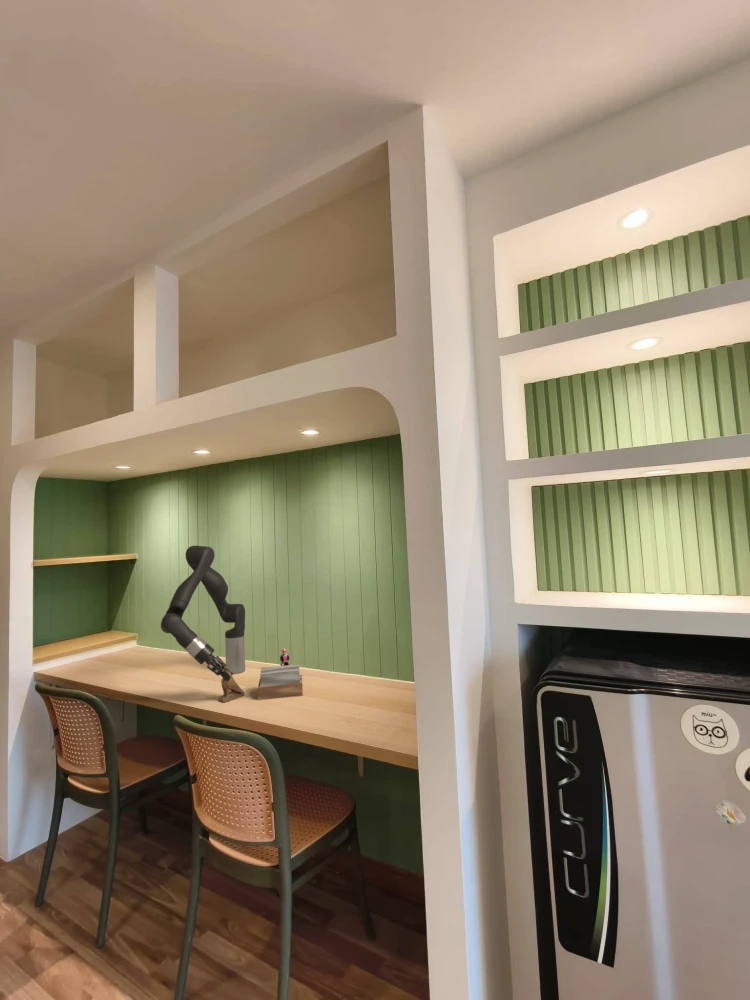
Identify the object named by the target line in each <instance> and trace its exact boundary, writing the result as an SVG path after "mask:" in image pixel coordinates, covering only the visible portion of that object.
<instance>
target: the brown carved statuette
mask: <svg viewBox="0 0 750 1000" xmlns="http://www.w3.org/2000/svg"><path fill="white" fill-rule="evenodd" d="M223 668H224V671H226V672H227V673H228V674H229V675H230V676H231V678H230V679H229V680H228V681H226V680H225V679H224V678H223V677H222V676H221V677H222V679H221V680H220V681H221V689H222V691H223V694H222V695H221V696H219V698H218V702H221V703H228V702H230V701H233V700H236V699H239V698H242V697H245V691H244V689H242V687H240V686H239V684H238V683H237V682H236V680H235V679H234V677H233V675H232V674H231V672H230V671H229V670H227V666H226V663H225V664H224V665H223Z"/></svg>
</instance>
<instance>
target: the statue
mask: <svg viewBox="0 0 750 1000" xmlns="http://www.w3.org/2000/svg"><path fill="white" fill-rule="evenodd" d="M281 652H282V654H280V655H279V659H280V662H281V663H280V666H287V665H290V663H289V662H288V661H290V653H286V648H282V649H281ZM301 675H302V674H301ZM302 677H304V675H302Z"/></svg>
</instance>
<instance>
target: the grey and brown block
mask: <svg viewBox="0 0 750 1000" xmlns="http://www.w3.org/2000/svg"><path fill="white" fill-rule="evenodd" d="M259 677H260V678H259V681H258V686H257V700H258V701H262V700H263V701H265V700H274V699H284V698H291V697H292V698H293V697H303V696H304V694H303V693H304V692H303V676H302V674H300V664H289V665H287V666H281V665H279V666H278V665H277V666H265V667H261V669H260V674H259Z"/></svg>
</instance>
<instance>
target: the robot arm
mask: <svg viewBox="0 0 750 1000" xmlns="http://www.w3.org/2000/svg"><path fill="white" fill-rule="evenodd" d="M215 557H216V556H215V550H214V549H213V548H212V547H211V546H206V545H204V546H203V545H190V546H189V547H187V549H186V551H185V560H186V562H187V564H188V566H189V567H190V568H191V569H192V570H193V572H192V573H191V574H190V575H189V576H188V577H187V578H186V579H185V580H184V581H182V582H181V583H180V585H178V587H177V589H176V590H175V592H174V594H173V596H172V598H171V600H170V603H169V606H168V608H167V610H166V612H165V614H164V616H163V617H162V619H161V622H160V629H161V631H162V632H163V633H164V634H165V633H166V634H170V635H171V636H172V637H174V638H175V640H176V642H177V643H178V644H179V645H180V646H181V647H182V648H183V650H185V651H186V652H187V653H188V655H190V656H191V657H192V658H194V660H196V662H198V663H199V664H200V665H202V664H204V663H206V664H207V666H206V668H207V669H209V671H211V672H212V673H214V674H215V675H216V676H221V677H223V678H224V679H225V680H226V681H228V680H229V679H230V678H231V676H230V675H229V674H228V673H227V672H226V671H224V668H223V665H224V664H226V666H227V670H229V671H230V672H231V674H232V676H233V675H234V674H241V673H243V672H245V671H246V650H245V647H246V646H245V629H246V609H245V606H244V604H242V603H229V602H227V600H226V598H227V596H228V592H229V586H228V584H227V582H226V580H225V578H224V577H223V576H222V575H221V574H220V573H219V572H218V571H217V570H216V569H214V568H213V567H211V566H212V564H213V563H214V560H215ZM200 583H202V585H203V586H204V588H205V590H206V592H207V593H208V595H209V597H210V598H211V599H212V601H213V603H214V605H215V607H216V609H217V611H218V614H219V616H220V618H221V619H222V621H223V622H224V623H227V624H233V623H234V626H233V627H232V628H230V629H228V630H226V631H225V632H224V637H225V640H224V645H225V662H224V661H223V660H222V658H220V656H219V655H216V656H215V655H214V654H213V653H214V652H215V649H214V648H213V647H212V646H211V645H210V644H209V643H207V641H206V640H205V639H203V638H202V637H200V636H199V635H198V634H197V633H195V631H193V630H192V629H191V628H190V627H189V626H188V624H186V622H185V621H184V620H183V616H184V613H185V611H186V610H187V608H188V607H189V604H190V603H191V599H192V598H193V595H194V593H195V591H196V589H197V588H198V587H199V585H200Z"/></svg>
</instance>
